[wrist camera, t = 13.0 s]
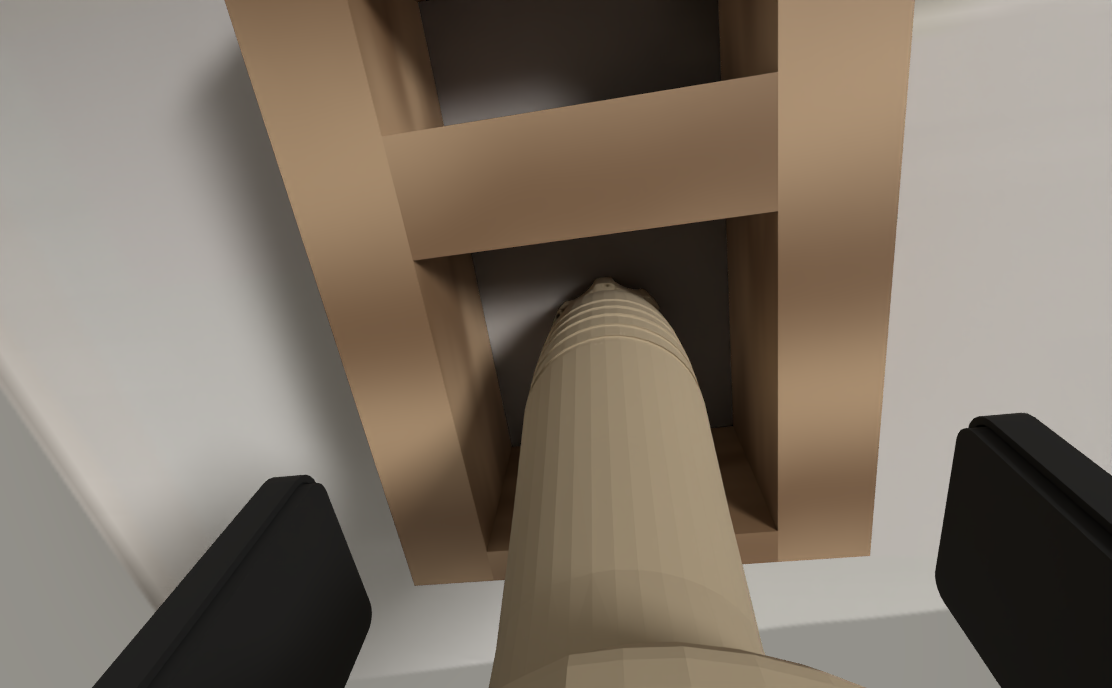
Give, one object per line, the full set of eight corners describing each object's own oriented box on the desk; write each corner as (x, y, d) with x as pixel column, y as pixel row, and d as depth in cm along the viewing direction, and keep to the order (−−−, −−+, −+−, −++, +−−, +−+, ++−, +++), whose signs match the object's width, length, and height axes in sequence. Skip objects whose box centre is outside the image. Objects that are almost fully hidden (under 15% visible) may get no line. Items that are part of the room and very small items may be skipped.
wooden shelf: (317, -50, 14) (184, -123, 10) (815, -153, 13) (938, -295, 8) (455, 476, 20) (414, 585, 16) (803, 445, 19) (869, 555, 14)
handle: (504, 384, 19) (253, 1176, 5) (569, 198, 16) (423, 760, 2) (640, 430, 19) (756, 1285, 5) (725, 254, 17) (1364, 1025, 3)
